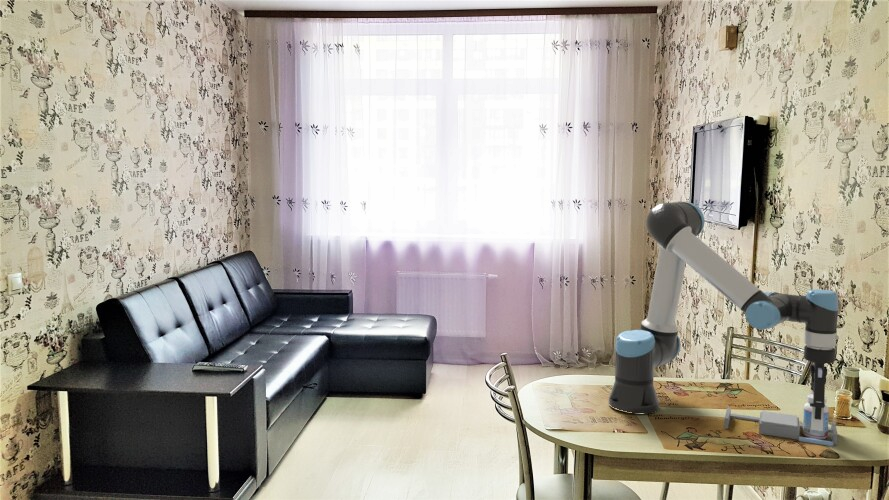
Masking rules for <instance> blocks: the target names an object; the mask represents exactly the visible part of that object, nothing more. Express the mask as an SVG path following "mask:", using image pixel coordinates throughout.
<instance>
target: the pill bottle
mask: <svg viewBox="0 0 889 500" xmlns="http://www.w3.org/2000/svg"><path fill="white" fill-rule="evenodd" d="M806 396H807V397H806V399H807V402H806V403H805V404H804V406H803V416H802V417H803V418H802V424H803V428H802V434H803V435H804V436H805V437H806V438H813V439H819V440H825V439H827V438H828V433H829V432H828V427H829V419H830V418H829V415H830V408H829V407H828V406H827V405H826V404H827V397H826V396H825V399H824V404H825V407H824V416H823V431H818V430H811V420H812V406H810V403H812V404H813V394H808V395H806ZM819 403H821V402H819Z"/></svg>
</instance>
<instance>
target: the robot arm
mask: <svg viewBox="0 0 889 500" xmlns="http://www.w3.org/2000/svg"><path fill="white" fill-rule="evenodd" d="M645 222H646V230H647V232H648V234H649V235H650V237H651V238H652V239H653V240H654V241H655V242H656V244H657V245H658V247H659V249H658V250H659V251H658V256H657V262H656V268H655V274H654V277H653V278H654V279H653V285H652V291H651V295H650V301H649V307H648V313H647V317H646V318H645V319H643V320H642V321H641V324H640V329H632V330H626V331H622V332H621V333H619V334H618V335H617V336H616V338H615V339H616V340H615V345H614V349H615V351H614V352H615V353H614V355H615V360H614V361H615V362H614V363H615V364H614V366H615V367H614V368H615V369H614V383H613V386H612V388H611V391H610V392H609V396H608V405H609V404H610V405H611V406H612V407H614V408H617V409H619V410H623V411H627V412H632V413H650V414H653V413H652V412H654V413H655V411H656V412H657V410H659V409H658V408H659V406H660V405H659V404H660V403H659V401H660V400H659V398H658V395H657V392H656V389H655V385H654V374H655V373H654V372H655V369H657V368H659V367H661V366H663V365H666V364H669V363H670V362H672V361H674V359H676V358H677V357H678V355H679V353H680V352H681V351H680V350H681V347H682V346H681V339H680V337H679V334H678V332H679V327H678V326H677V324H676V318H677V312H678V307H679V301H680V296H681V292H682V285H683V280H684V275H685V270H686V264H687V265H688V266H689V267H690V268H692V269H693V270H694V271H695V272H696V273H697V274H699V276H701V277H702V278H703V279H704V280H706V281H707V282H708V283H709V284H710V285H711V286H713V287H714V288H715V290H717V291H718V292H720V293H721V295H723V296H724V297H725V298H726V299H728V300H729V301H730V302H731V303H732V304H733V305H734V306H735V307H737V308H738V309H739V310H741V312H742V313H744V315H745V319H746V322H747V323H748V325H750V326H751V327H752V328H754V329H756V330H767V329H769V330H770V329H771V328H774V327H776V326H777V325H779V324H781V323H784V322H786V321H787V322H791V323H792V322H795V323H800V324H805V327H804V340H803V341H804V347H803V348H804V349H803V358H804V359H805V361H808V362H812V364H810V366H809V367H810V368H809V371H810V379H811V380H810V390H811V391H810V394H813V404H812V403H810V406H812V420H811V430H818V431H823V416H824V407H825V405H826V404H824V399H825V397H826V396H825V394H826V393H825V392H826V385H827V375H828V367H827V366H825V364H833V363H835V361H836V353H837V351H836V348H835V347H836V346H837V340H840V337H839V336H838V335H837V331H838V329H837V328H838V327H837V326H838V316H839V311H840V310H839V309H840V308H839V295H838V294H837V292H835V291H834V290H829V289H818V288H817V289H809V290H807V291H806V295H796V294H791V293H790V294H788V293H783V292H782V293H780V292H777V291H774V292H768V291H765V292H764V291H762V290H761V289H760V288H759V287H758V286H756V285H755V284H754V282H752V281H750V279H748V278H747V277H746V276H744V275H743V273H741V272H739V271H738V269H736V268H735V267H733V266H732V265H731V264H730V263H729V262H728V261H726V260H725V259H724V258H723V257H722V256H720V255H719V254H718V253H717V252H716V251H714V250H713V249H712V248H711V247H710V246H709V245H708V244H706V243H705V242H703V240H701V239H700V238H699V237H698V236H699V235H700V234H701V232H702V231H703V229H704V227H705V215H704V213H703V211H702V210H701V209H700V207H698V206H697V205H696V204H694V203H692V202H688V201H673V202H663V203H659V204H656V205H655V206H653V207H652V208H651V209H650V210H649V213H648V214H647V216H646V221H645ZM810 394H809V395H810ZM819 402H821V403H819Z"/></svg>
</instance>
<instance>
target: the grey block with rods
mask: <svg viewBox="0 0 889 500" xmlns="http://www.w3.org/2000/svg"><path fill="white" fill-rule="evenodd" d="M731 410H732V408H731V407H726V411H725V415H724V421H723V422H724V424H723V425H724V426H723V428H724V429H725V430H726V429H727V430H728V429H729V425H730V422H731V419H732V418H733V419H738V420H745V421H752V422H758V434H759V435H765V436H766V435H767V436H771V437H778V438H786V439H791V440H798V441H799V442H803V443H810V444H816V445H823V446H830V447H834V446H838V436H839V434H838V431H837V430H838V428H837V424H836V422H835V421H831V422H830V427H829V426H828V433H830V438H831V441H830V440H825V439H813V438H809V437H807V436H805V437H804V436H800V429H803V423H801V422H800V417H799V416H798V415H795V414H788V413H781V412H773V411H767V410H761V411H760V413H759V417H758V416H751V415H745V414H740V413H739V414H737V413H732V411H731Z"/></svg>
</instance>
